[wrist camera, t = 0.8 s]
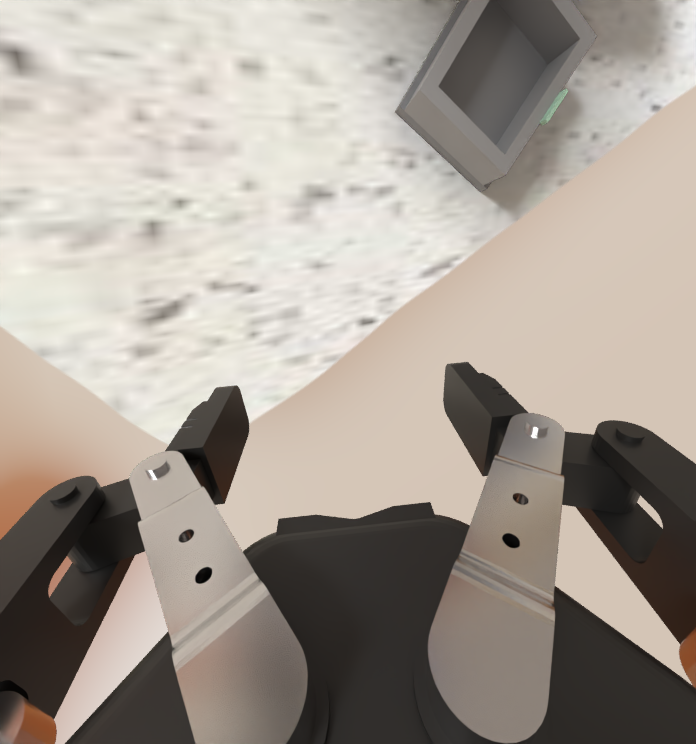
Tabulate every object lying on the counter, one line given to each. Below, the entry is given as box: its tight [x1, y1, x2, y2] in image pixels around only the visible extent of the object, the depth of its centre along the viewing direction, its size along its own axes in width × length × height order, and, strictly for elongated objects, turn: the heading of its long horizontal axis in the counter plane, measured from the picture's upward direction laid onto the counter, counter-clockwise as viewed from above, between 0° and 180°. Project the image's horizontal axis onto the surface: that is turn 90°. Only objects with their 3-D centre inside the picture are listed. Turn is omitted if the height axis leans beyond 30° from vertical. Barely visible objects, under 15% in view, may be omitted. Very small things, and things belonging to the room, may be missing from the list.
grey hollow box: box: [395, 0, 597, 192], centre depth 24 cm, size 10×11×5 cm
